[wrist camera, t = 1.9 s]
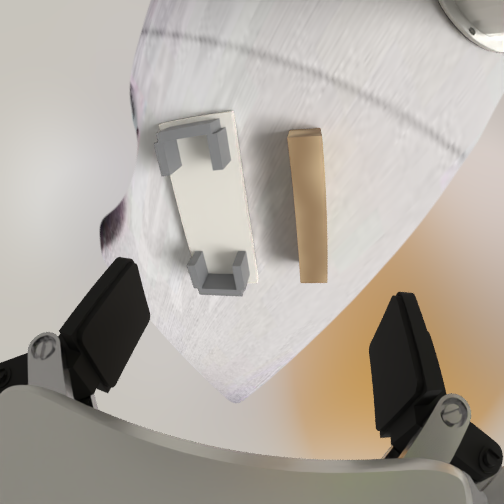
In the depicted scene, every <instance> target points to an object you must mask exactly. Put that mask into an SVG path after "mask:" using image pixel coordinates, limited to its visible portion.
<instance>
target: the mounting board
mask: <svg viewBox="0 0 504 504" xmlns="http://www.w3.org/2000/svg"><path fill="white" fill-rule="evenodd" d="M159 130H160V131H159V132H157V133H156V135H157V139H158V142H156V143H154V146H155V151H156V155H157V159H158V163H159V167H160V171H161V175H162V176H169V175H170V178H171V182H172V186H173V190H174V194H175V198H176V202H177V206H178V209H179V213H180V217H181V221H182V225H183V228H184V232H185V235H186V239H187V243H188V246H189V250H190V253H191V257H192V258H191V259H190V261H189V263H188V264H187V268H188V271H189V274H190V277H191V280H192V283H193V287H194V288H198V291H199V294H201V295H221V296H243V292H244V290H245V289H246V286H247V283H254V284H257V283H258V279H259V278H258V271H257V264H256V258H255V251H254V244H253V237H252V231H251V224H250V217H249V210H248V204H247V197H246V190H245V183H244V177H243V170H242V163H241V157H240V150H239V143H238V137H237V130H236V123H235V117H234V111H228V112H220V113H214V114H207V115H201V116H195V117H190V118H184V119H179V120H174V121H169V122H164V123H161V124H159Z"/></svg>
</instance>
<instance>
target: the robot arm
mask: <svg viewBox="0 0 504 504" xmlns="http://www.w3.org/2000/svg"><path fill="white" fill-rule="evenodd" d="M438 1H439V3H440V5H441V7H442V9H443V10H444V12H445V13H446V15H447V16H448V18H449V19H450V20H451V21H452V22H453V24H454V25H455V26H456V27H457V28H458V29H459V30H460V31H461V32H462V33H463V34H464V35H465V36H466V37H467V38H468V39H470V40H471V41H472V42H474V43H475V44H477V45H478V46H480V47H482V48H484V49H486V50H488V51H492V52H496V53H504V0H438ZM149 320H150V312H149V308H148V305H147V301H146V297H145V294H144V290H143V286H142V282H141V278H140V274H139V270H138V266H137V264H135V263H134V261H133V260H132V259H128V258H122V257H118V258H116V259H115V261H114V262H113V263H112V264H111V265H110V266H109V268H108V269H107V270H106V271H105V272H104V274H103V275H102V276H101V277H100V279H99V280H98V281H97V282H96V283H95V285H94V286H93V287H92V288H91V289H90V291H89V292H88V293H87V295H86V296H85V297H84V298H83V300H82V301H81V302H80V304H79V305H78V306H77V308H76V309H75V310H74V312H73V313H72V314H71V315H70V317H69V318H68V320H67V321H66V322H65V323H64V325H63V326H62V328H61V329H60V330H59V332H60V335H59V336H57V335H56V334H54V333H50V332H46V333H42V334H40V335H38V336H37V337H35V338H34V339H33V340H32V341H31V343H30V345H29V347H28V353H26V354H24V355H21V356H18V357H15V358H13V359H10V360H7V361H4V362H1V363H0V504H504V466H503V467H502V466H501V464H502V460H503V455H502V450H501V448H500V446H499V445H498V444H497V443H496V442H495V441H494V440H492V439H491V438H490V437H489V436H488V435H486V434H485V433H484V432H483V431H481V430H480V429H479V428H478V427H476V426H475V425H474V424H473V423H471V422H470V419H471V410H470V407H469V405H468V403H467V401H466V400H465V399H464V398H463V397H461V396H459V395H457V394H452V393H451V394H446V391H445V387H444V382H443V378H442V375H441V370H440V367H439V363H438V359H437V356H436V353H435V349H434V346H433V343H432V340H431V336H430V334H429V332H428V331H427V329H426V326H425V323H424V320H423V317H422V314H421V311H420V308H419V306H418V303H417V300H416V297H415V295H414V294H413V293H407V292H398V293H397V295H396V296H392V298H391V300H390V302H389V305H388V307H387V309H386V311H385V314H384V316H383V318H382V320H381V322H380V325H379V327H378V329H377V331H376V333H375V335H374V337H373V339H372V341H371V343H370V347H369V356H370V364H371V373H372V383H373V394H374V406H375V422H376V429H377V430H378V431H380V438H385V437H391V447H390V448H389V449H388V451H387V452H386V453H385V455H384V456H383V457H382V458H381V459H373V460H318V459H300V458H288V457H278V456H269V455H261V454H254V453H247V452H240V451H235V450H230V449H224V448H219V447H214V446H209V445H205V444H201V443H196V442H193V441H189V440H185V439H181V438H177V437H174V436H170V435H167V434H163V433H160V432H157V431H153V430H151V429H147V428H144V427H141V426H138V425H135V424H133V423H130V422H127V421H125V420H122V419H119V418H117V417H114V416H111V415H109V414H107V413H104V412H102V411H99V410H98V407H97V404H96V400H95V395H94V392H95V390H96V388H97V389H99V390H101V391H104V392H107V393H108V392H109V390H110V388H111V387H114V386H115V385H116V383H117V381H118V379H119V377H120V375H121V373H122V371H123V369H124V367H125V366H126V364H127V362H128V360H129V358H130V356H131V354H132V352H133V350H134V348H135V347H136V345H137V343H138V341H139V339H140V337H141V335H142V333H143V332H144V330H145V328H146V326H147V324H148V322H149Z"/></svg>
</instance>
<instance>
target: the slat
mask: <svg viewBox="0 0 504 504" xmlns="http://www.w3.org/2000/svg"><path fill="white" fill-rule="evenodd" d="M287 141H288V149H289V158H290V167H291V176H292V185H293V195H294V205H295V216H296V228H297V240H298V253H299V267H300V282H301V283H327V211H326V187H325V170H324V155H323V142H322V134H321V129H320V128H314V129H297V130H290V131H289V134H288V137H287Z"/></svg>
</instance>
